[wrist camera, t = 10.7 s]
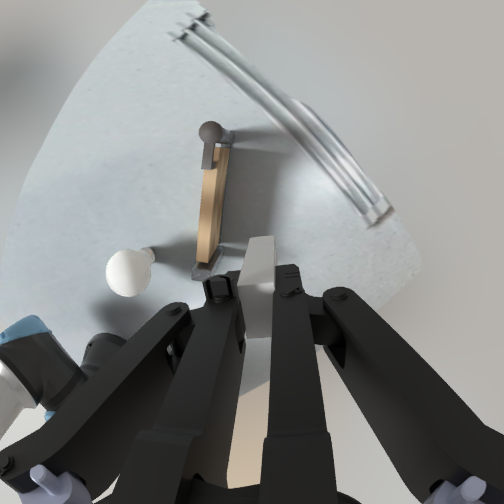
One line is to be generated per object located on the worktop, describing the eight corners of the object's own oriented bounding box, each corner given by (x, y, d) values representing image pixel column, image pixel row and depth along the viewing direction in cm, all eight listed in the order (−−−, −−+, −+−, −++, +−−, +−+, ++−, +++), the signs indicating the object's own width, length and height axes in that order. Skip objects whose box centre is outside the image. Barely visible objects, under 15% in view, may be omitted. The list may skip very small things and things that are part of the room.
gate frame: (222, 256, 42) (210, 282, 34) (203, 253, 42) (186, 279, 34) (236, 131, 35) (225, 125, 27) (214, 129, 36) (197, 123, 27)
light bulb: (125, 242, 42) (89, 268, 32) (157, 228, 41) (123, 252, 31) (143, 277, 44) (112, 310, 34) (174, 265, 43) (147, 299, 33)
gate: (221, 245, 41) (206, 272, 32) (205, 242, 41) (186, 268, 32) (235, 129, 35) (223, 122, 26) (218, 128, 35) (200, 120, 26)
